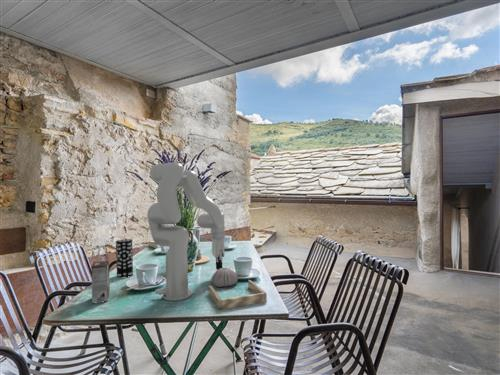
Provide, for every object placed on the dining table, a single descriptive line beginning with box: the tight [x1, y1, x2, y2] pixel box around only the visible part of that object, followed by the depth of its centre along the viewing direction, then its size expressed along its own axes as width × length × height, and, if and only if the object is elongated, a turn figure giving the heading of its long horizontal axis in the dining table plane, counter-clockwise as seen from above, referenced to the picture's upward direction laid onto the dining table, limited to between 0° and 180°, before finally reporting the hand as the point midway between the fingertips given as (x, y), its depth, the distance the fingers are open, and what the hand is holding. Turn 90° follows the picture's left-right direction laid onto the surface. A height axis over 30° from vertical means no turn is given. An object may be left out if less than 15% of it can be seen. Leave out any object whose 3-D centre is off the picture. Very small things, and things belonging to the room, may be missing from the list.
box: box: [208, 279, 268, 310], centre depth 128 cm, size 20×19×4 cm
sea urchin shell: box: [211, 267, 239, 287], centre depth 146 cm, size 13×14×8 cm
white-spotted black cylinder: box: [115, 238, 134, 278], centre depth 164 cm, size 8×8×20 cm
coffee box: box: [90, 260, 111, 304], centre depth 129 cm, size 9×6×16 cm
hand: (219, 268), depth 158 cm, fingers closed
